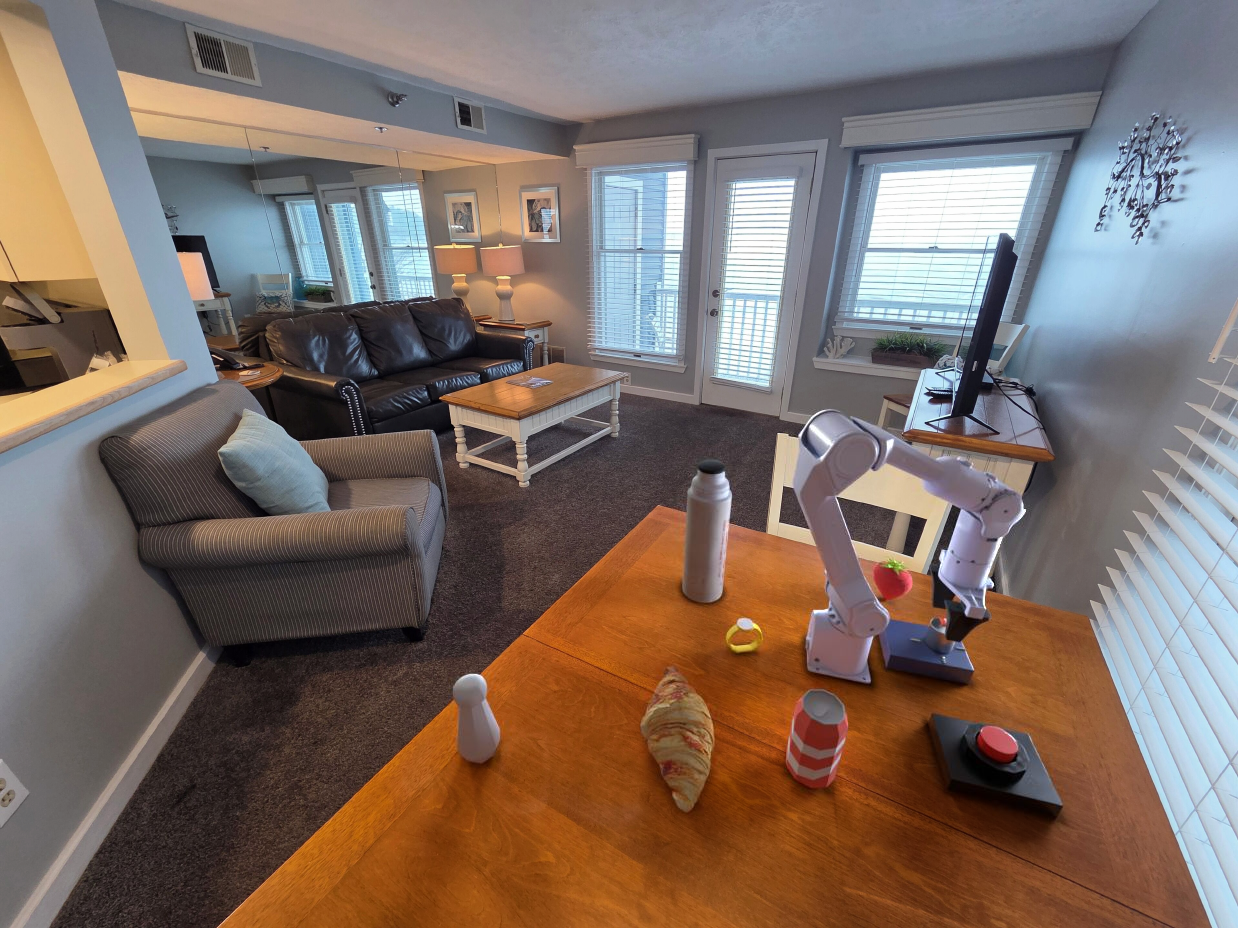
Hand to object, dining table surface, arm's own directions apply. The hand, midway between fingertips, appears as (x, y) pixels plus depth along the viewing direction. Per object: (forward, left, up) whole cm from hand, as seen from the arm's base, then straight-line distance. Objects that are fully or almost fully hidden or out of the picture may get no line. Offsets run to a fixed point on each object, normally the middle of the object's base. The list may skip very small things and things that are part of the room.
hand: (945, 622), depth 81 cm
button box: (+2, -19, -8) cm, 21 cm away
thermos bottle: (-40, +7, -8) cm, 41 cm away
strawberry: (-5, +14, -8) cm, 17 cm away
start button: (+2, -19, -4) cm, 19 cm away
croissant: (-39, -27, -8) cm, 48 cm away
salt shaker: (-65, -36, -8) cm, 75 cm away
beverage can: (-21, -26, -8) cm, 34 cm away
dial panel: (-2, 0, -8) cm, 8 cm away
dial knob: (0, 0, -5) cm, 5 cm away
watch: (-31, -7, -8) cm, 33 cm away
